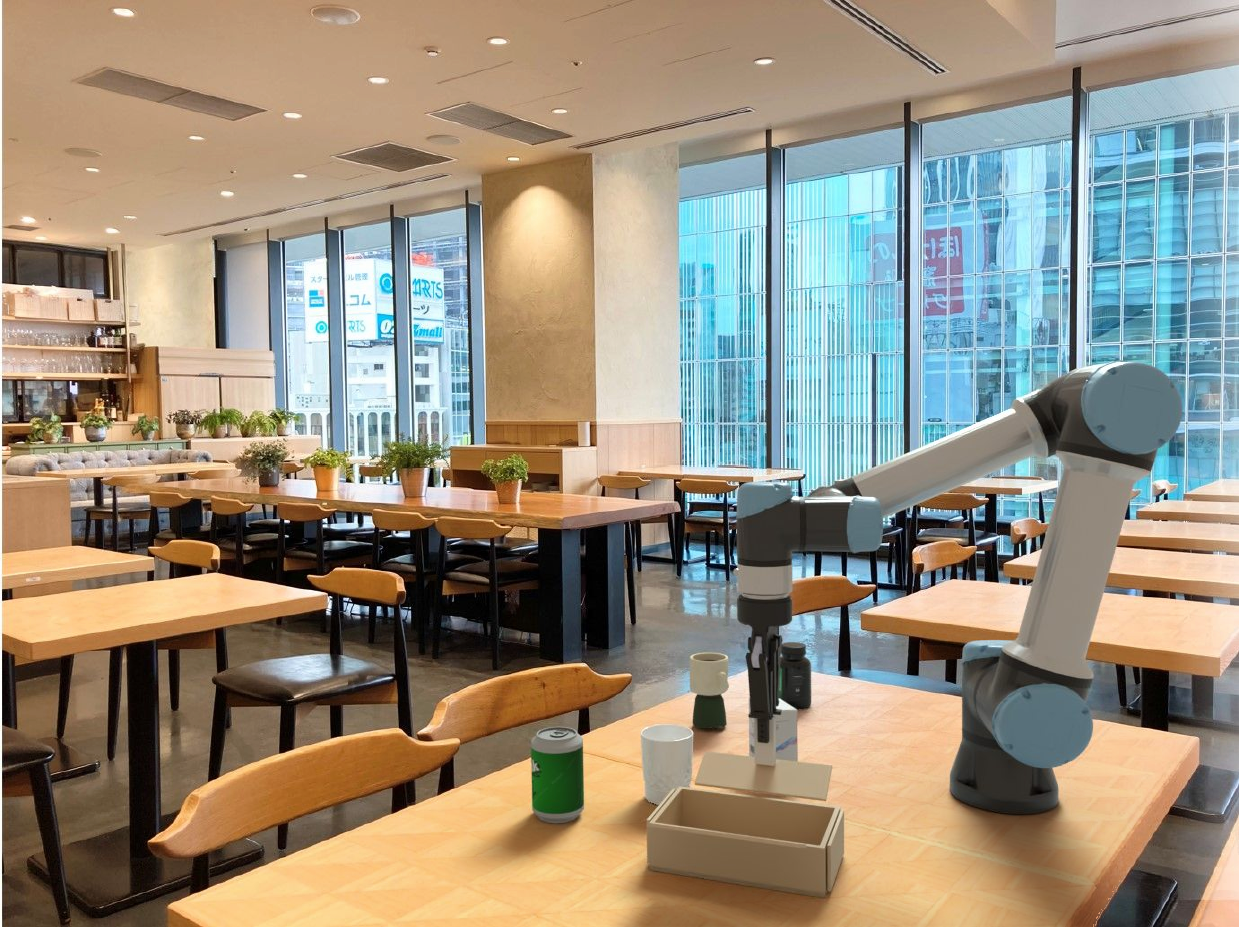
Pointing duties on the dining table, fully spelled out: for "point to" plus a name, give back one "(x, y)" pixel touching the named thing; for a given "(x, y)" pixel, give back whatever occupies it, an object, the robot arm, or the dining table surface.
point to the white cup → (666, 759)
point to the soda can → (557, 774)
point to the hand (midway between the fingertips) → (765, 762)
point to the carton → (744, 858)
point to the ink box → (781, 733)
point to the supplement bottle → (795, 675)
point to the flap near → (727, 835)
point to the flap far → (764, 776)
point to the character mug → (709, 688)
